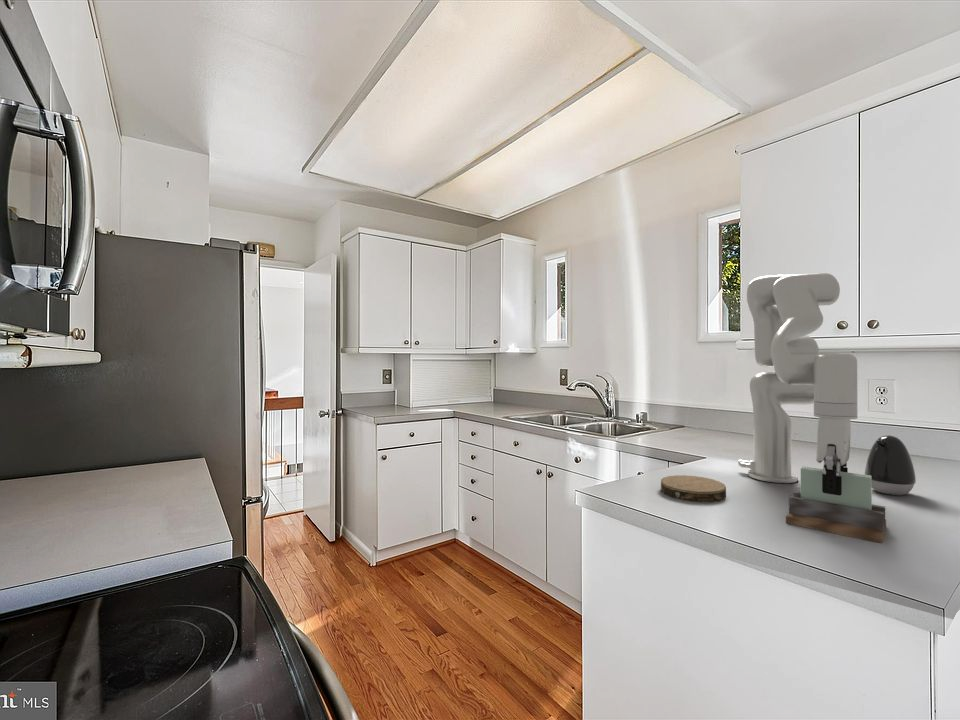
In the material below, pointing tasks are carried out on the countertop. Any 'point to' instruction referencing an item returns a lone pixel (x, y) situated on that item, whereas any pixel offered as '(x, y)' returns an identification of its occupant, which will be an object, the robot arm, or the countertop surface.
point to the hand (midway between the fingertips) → (835, 488)
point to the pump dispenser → (890, 466)
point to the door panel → (853, 488)
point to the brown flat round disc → (693, 488)
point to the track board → (837, 518)
